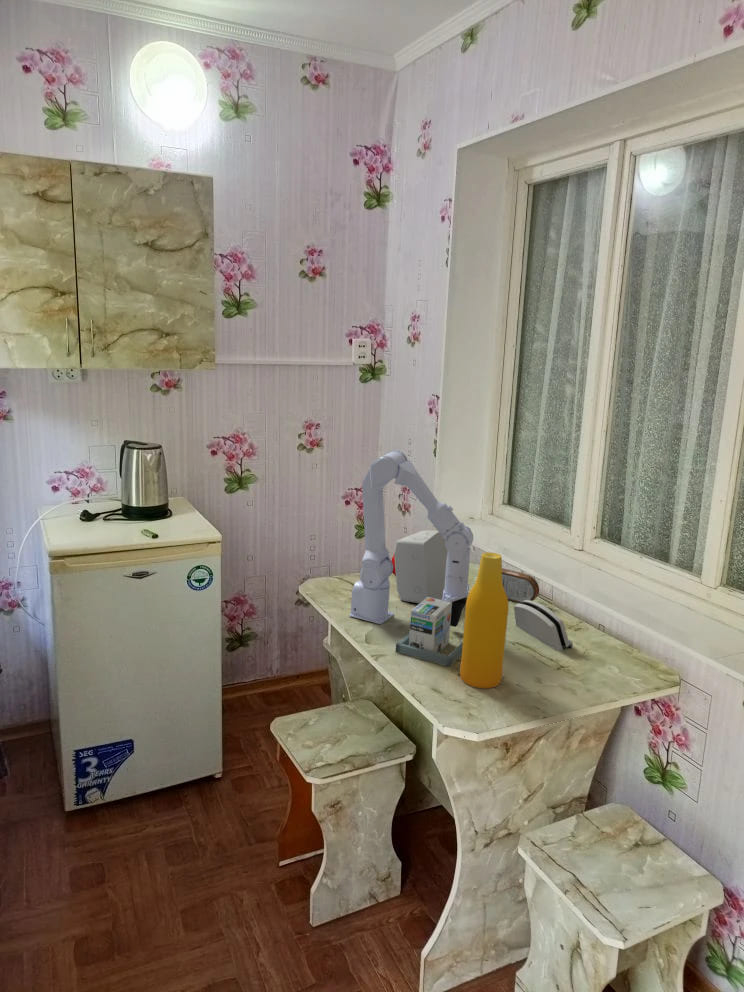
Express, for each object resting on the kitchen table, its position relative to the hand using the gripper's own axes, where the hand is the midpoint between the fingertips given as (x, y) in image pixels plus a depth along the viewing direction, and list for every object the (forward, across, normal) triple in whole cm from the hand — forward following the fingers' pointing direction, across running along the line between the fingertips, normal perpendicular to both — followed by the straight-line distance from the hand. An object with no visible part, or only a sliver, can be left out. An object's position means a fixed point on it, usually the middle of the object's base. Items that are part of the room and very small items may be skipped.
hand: (452, 625), depth 193 cm
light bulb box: (+2, -12, +1) cm, 12 cm away
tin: (+2, +30, -6) cm, 31 cm away
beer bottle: (+2, -21, -15) cm, 26 cm away
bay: (+2, -11, 0) cm, 11 cm away
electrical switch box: (+2, +18, +18) cm, 26 cm away
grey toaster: (+2, +9, -20) cm, 22 cm away
